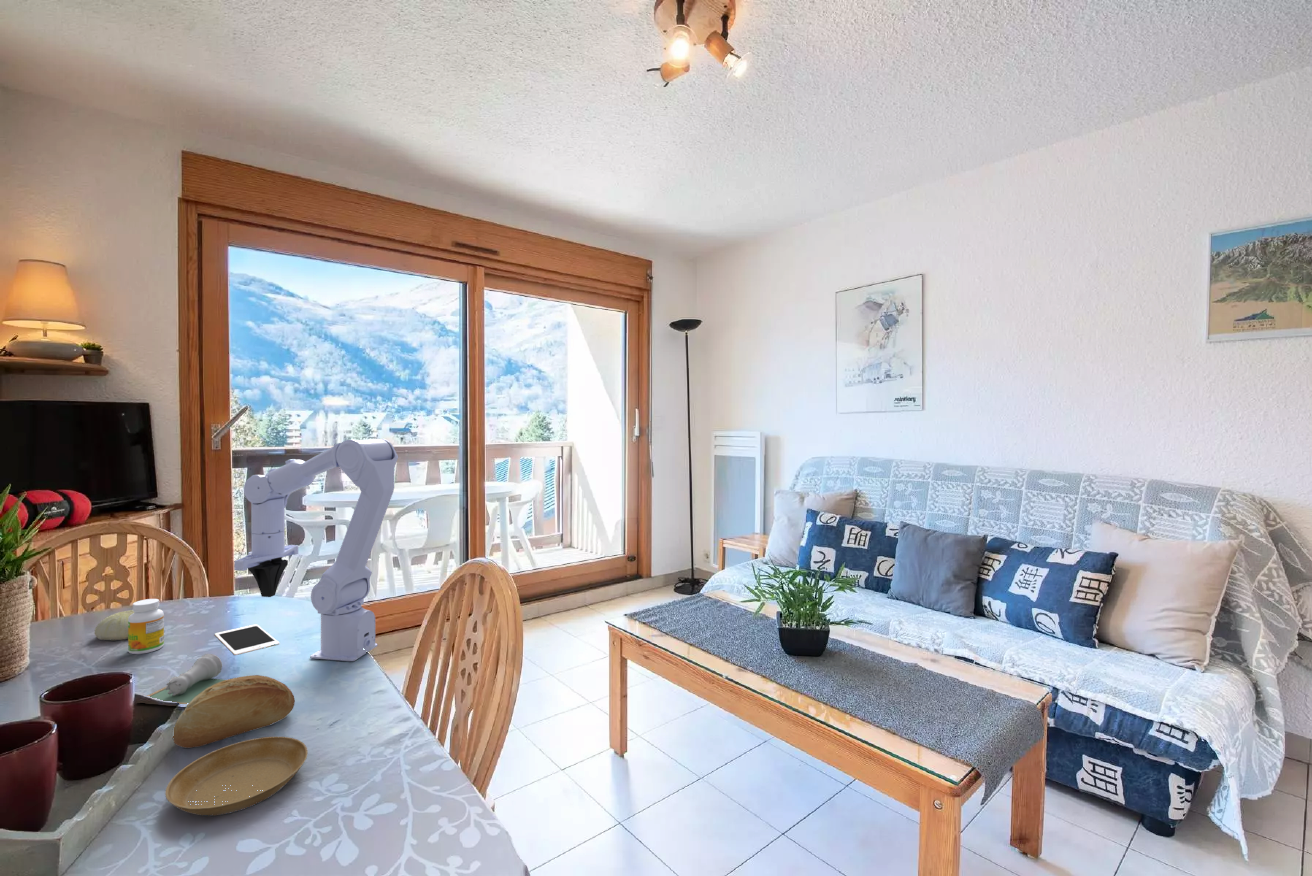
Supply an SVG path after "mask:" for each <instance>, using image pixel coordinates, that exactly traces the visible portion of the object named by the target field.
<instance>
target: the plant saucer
mask: <svg viewBox="0 0 1312 876" xmlns="http://www.w3.org/2000/svg"><path fill="white" fill-rule="evenodd" d="M308 753H309V750H308V747H307V746H306V744H305V743H304V741H301V740H299V739H297V738H293V737H288V736H287V737H286V736H264V737H257V738H251V739H246V740H243V741H239V742H234V743H232V744H229V745H225V746H223V747H221V748H218V749H216V750H212V751H211V752H209V753H207V754H205V755H203V756H200V757H198V758H197V759H196V760H194V761H192V762H190V763H189V764H188V765H186V766H184V768H181V770H180V771H178V772H177V773H176V774H175V775H174V776H173V777H172V778H171V779H170V781H169V782H168V784H167V786H166V788H165V790H164V791H165V793H164V794H165V798H166V800H167V801H168V802H169V803H170V804H172V806H174V807H176V808H177V809H179V810H181V811H183V812H185V813H190V814H192V815H198V816H203V815H208V816H207V817H210V816H209V815H214V816H220V815H221V814H222V815H225V814H226V813H228V814H231V813H230V812H232V813H235V811H236V812H238V810H239V811H242V810H245V809H248V808H250V806H251V807H252V805H253V806H255V805H257V803H258V804H260V803H261V802H263V801H265V800H267V799H269V798H270V797H273V795H275V794H276V793H277V792H279V791H280V790H282V788H283V787H284V786H286V784H288V783H289V782H290V781H291V780H292V778H293V777H294V776H295V775H296V774H297V772H298V771H299V770H300V769H301V768H302V766H303V765H304V763H305V761H306V760H307V757H308ZM222 785H223V786H222ZM225 785H226V786H225ZM230 785H231V786H230ZM252 785H253V786H252ZM225 788H226V789H225ZM228 788H229V789H228ZM196 790H197V791H196ZM223 790H226V791H223ZM231 790H232V791H231ZM236 790H237V791H236ZM257 790H258V791H257ZM260 790H261V791H260ZM262 790H263V791H262ZM214 796H215V797H214ZM249 796H250V797H249ZM268 797H269V798H268ZM214 799H215V800H214ZM188 801H189V802H188ZM190 801H191V802H190ZM192 801H194V802H192ZM195 801H197V802H196V803H195ZM198 801H199V802H198ZM201 801H202V802H201ZM204 801H205V802H204ZM206 801H208V802H206ZM214 801H215V803H214ZM222 801H223V802H222ZM225 801H226V802H225ZM227 801H228V802H227ZM259 802H260V803H259ZM190 804H191V805H190ZM195 804H197V805H195ZM198 804H199V805H198ZM201 804H202V805H201ZM214 804H215V805H214ZM222 804H223V805H222ZM254 804H255V805H254ZM247 807H248V808H247ZM244 808H245V809H244ZM241 809H242V810H241ZM222 815H221V816H222ZM226 815H227V814H226Z"/></svg>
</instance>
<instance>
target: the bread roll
mask: <svg viewBox="0 0 1312 876" xmlns="http://www.w3.org/2000/svg"><path fill="white" fill-rule="evenodd" d="M224 680H225V681H222V682H219V683H217V684H214V685H212V686H210V687H208V688H206V689H205V690H204V691H203V692H201V693H200V694H198V695H197V696H196V697H195V698H194V699H193V700H192V701H191V702H190V703H189V704H188V705H187V707H186V708H184V710H183V712H182V713H181V714H180V715H179V716H178V718H177V721H176V722H175V725H174V726H175V727H173V728H174V736H173V737H172V739H173V738H174V740H173V743H174V744H175V745H177V746H178V747H181V748H186V749H188V748H189V749H191V748H198V747H203V746H205V745H209V744H212V743H215V742H219V741H223V740H226V739H228V738H231V737H235V736H238V735H241V734H245V733H248V732H252V731H255V730H258V729H261V728H264V727H265V728H266V727H269V726H271V725H274V724H275V723H278V722H279V721H281V720H284V719H285V718H287V716H289V715H290V713H291V712H292V711H293V710H294V706H295V703H296V699H295V696H294V694H293V691H292V690H291V689H290V687H288V686H287V685H286V683H284V682H281V681H279V680H277V679H276V678H272V677H269V676H266V675H265V676H264V675H259V674H256V675H255V674H254V675H243V676H238V677H237V676H236V677H233V678H229V679H224Z"/></svg>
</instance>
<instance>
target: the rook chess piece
mask: <svg viewBox="0 0 1312 876" xmlns="http://www.w3.org/2000/svg"><path fill="white" fill-rule="evenodd" d="M222 669H223V662H222V660H221V658H220V657H218V655H215V654H213V653H205V654H203V655H202V656H201V657H199V658H197V659H196V661H194V663H193V665H192V666H191V667H190V668H189V670H187V671H186V672H182V673H180V674H179V675H178V676H173V677H171V678H170V679H169V681H168V682H166V684H165V685H166V686H167V687H166V686H164V687H165V689H166V690H168V689H169V692H168V694H169V695H170V694H172V693H173V694H172V696H176V695H181V694H183V693H185V692H186V690H187V688H190V687H192V685H193V684H194V683H196V682H199V681H202V680H209V679H215V677H217V676H219V675H220V674H221V672H222Z"/></svg>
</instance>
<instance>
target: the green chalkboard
mask: <svg viewBox="0 0 1312 876" xmlns="http://www.w3.org/2000/svg"><path fill="white" fill-rule="evenodd" d="M225 680H226V679H222V678H212V679H209V680H202V681H199V682H196V683H194V684H193V685H192V687H190V688H187V690H186V692H185V693H183V694H181V695H176V696H172V694H173V693H172V694H170V695H169V694H168V692H169V689H168V690H166V689H165V687H167V685H166V686H164V687H162V688H160V689H158V690H156V691H154V692H152V693H149V694H148V695H146V696H150V697H152V698H157V699H160V700H163V701H172V702H177V703H179V704H187V703H190V702H191V701H192V700H193V699H194V698H195V697H196V696H197V695H198V694H200V693H201V692H203V691H204V690H205V689H206V688H208V687H210V686H212V685H214V684H217V683H219V682H222V681H225Z"/></svg>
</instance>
